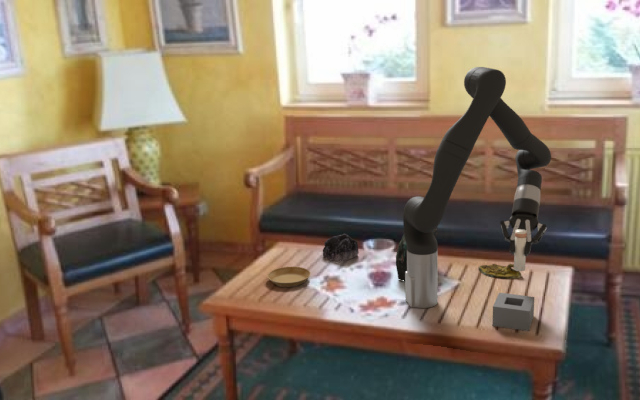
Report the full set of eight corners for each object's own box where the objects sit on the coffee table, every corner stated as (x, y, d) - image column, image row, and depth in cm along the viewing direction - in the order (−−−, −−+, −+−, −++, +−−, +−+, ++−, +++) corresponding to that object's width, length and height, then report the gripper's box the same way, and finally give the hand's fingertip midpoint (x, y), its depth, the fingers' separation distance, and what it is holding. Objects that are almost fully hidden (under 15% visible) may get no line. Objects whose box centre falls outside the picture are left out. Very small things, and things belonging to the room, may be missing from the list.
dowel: (516, 271, 195) (518, 233, 192) (511, 267, 198) (513, 229, 195) (527, 270, 195) (528, 232, 192) (522, 266, 198) (523, 228, 195)
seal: (473, 277, 226) (517, 284, 218) (472, 265, 224) (517, 272, 216) (483, 265, 233) (525, 272, 225) (482, 253, 231) (525, 259, 223)
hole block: (529, 331, 184) (529, 311, 183) (492, 325, 188) (492, 306, 187) (533, 315, 193) (534, 296, 191) (498, 311, 197) (499, 292, 196)
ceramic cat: (427, 262, 238) (426, 209, 232) (442, 266, 233) (442, 212, 228) (392, 279, 224) (391, 223, 219) (408, 284, 220) (407, 227, 214)
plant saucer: (280, 271, 237) (280, 264, 237) (318, 276, 231) (317, 269, 230) (260, 286, 224) (259, 279, 224) (298, 292, 218) (298, 285, 218)
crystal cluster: (324, 251, 256) (321, 228, 252) (359, 248, 254) (356, 224, 251) (322, 267, 243) (319, 242, 240) (359, 263, 242) (356, 238, 238)
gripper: (501, 195, 200) (493, 246, 193) (550, 198, 195) (543, 251, 187) (503, 207, 207) (495, 257, 199) (551, 210, 201) (545, 262, 194)
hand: (519, 254), depth 193 cm, fingers closed on dowel, 3 cm apart
